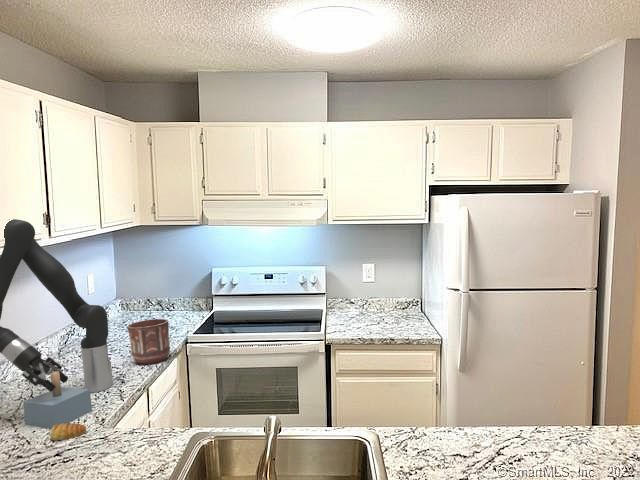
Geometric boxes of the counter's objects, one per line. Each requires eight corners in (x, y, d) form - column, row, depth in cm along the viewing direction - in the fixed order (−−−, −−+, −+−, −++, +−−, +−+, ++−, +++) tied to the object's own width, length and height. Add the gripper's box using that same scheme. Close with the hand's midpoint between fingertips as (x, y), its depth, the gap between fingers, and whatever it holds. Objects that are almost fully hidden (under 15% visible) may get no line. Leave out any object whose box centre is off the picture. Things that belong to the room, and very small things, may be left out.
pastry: (88, 428, 147) (87, 416, 147) (83, 438, 140) (81, 425, 140) (55, 433, 145) (54, 421, 145) (48, 443, 138) (47, 431, 138)
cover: (63, 407, 166) (58, 364, 166) (92, 410, 161) (87, 366, 160) (25, 424, 153) (20, 378, 153) (55, 428, 148) (50, 380, 147)
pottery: (154, 353, 230) (151, 317, 229) (179, 356, 221) (175, 319, 220) (123, 365, 215) (119, 326, 214) (148, 368, 206) (144, 328, 205)
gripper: (16, 351, 149) (56, 383, 150) (40, 340, 163) (77, 369, 164) (0, 369, 149) (41, 401, 150) (27, 356, 163) (63, 385, 164)
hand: (60, 384), depth 157 cm, fingers open, 8 cm apart
